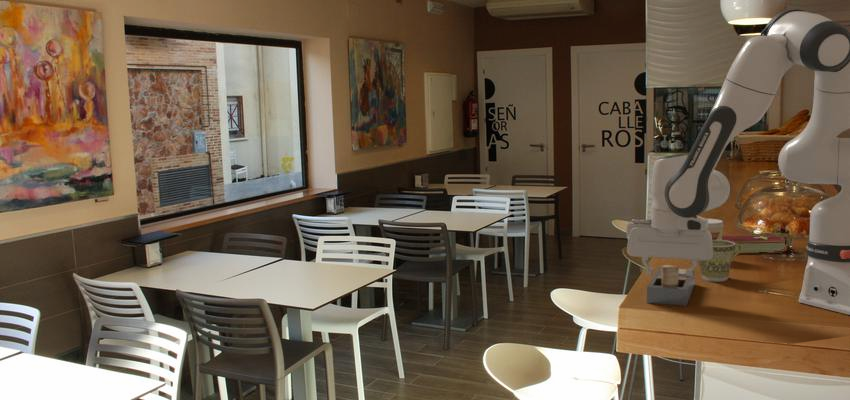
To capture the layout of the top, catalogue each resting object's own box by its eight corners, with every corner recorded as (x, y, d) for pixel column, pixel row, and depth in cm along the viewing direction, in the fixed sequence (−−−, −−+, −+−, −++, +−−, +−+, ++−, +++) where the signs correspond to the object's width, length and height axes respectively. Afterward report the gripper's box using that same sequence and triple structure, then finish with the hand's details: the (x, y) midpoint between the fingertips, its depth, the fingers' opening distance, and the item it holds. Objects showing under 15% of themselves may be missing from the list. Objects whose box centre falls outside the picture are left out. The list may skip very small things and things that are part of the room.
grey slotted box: (686, 305, 184) (686, 288, 183) (646, 302, 188) (646, 285, 187) (694, 284, 204) (694, 268, 203) (658, 282, 207) (658, 266, 207)
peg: (681, 299, 189) (682, 268, 188) (667, 301, 188) (667, 269, 187) (672, 295, 193) (672, 264, 192) (658, 297, 192) (658, 266, 191)
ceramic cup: (710, 284, 203) (711, 247, 202) (687, 276, 213) (688, 241, 211) (752, 280, 207) (753, 243, 205) (728, 272, 216) (729, 237, 215)
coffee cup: (687, 261, 231) (688, 222, 229) (692, 255, 239) (693, 217, 237) (720, 264, 226) (721, 224, 225) (724, 258, 235) (725, 219, 233)
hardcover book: (709, 247, 253) (709, 234, 252) (774, 246, 252) (774, 233, 251) (721, 255, 241) (721, 241, 240) (789, 253, 240) (790, 240, 239)
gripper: (624, 220, 189) (624, 275, 191) (712, 224, 181) (711, 281, 183) (628, 216, 195) (628, 270, 197) (714, 219, 187) (713, 275, 189)
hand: (669, 275), depth 190 cm, fingers open, 8 cm apart
